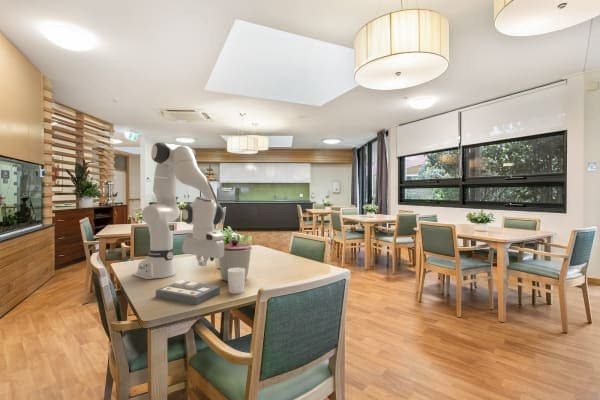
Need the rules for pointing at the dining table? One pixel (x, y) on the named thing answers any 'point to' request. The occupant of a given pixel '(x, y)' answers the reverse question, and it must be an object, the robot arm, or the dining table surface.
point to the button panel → (188, 293)
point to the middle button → (191, 285)
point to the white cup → (236, 280)
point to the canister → (234, 258)
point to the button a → (180, 283)
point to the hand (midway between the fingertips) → (202, 265)
